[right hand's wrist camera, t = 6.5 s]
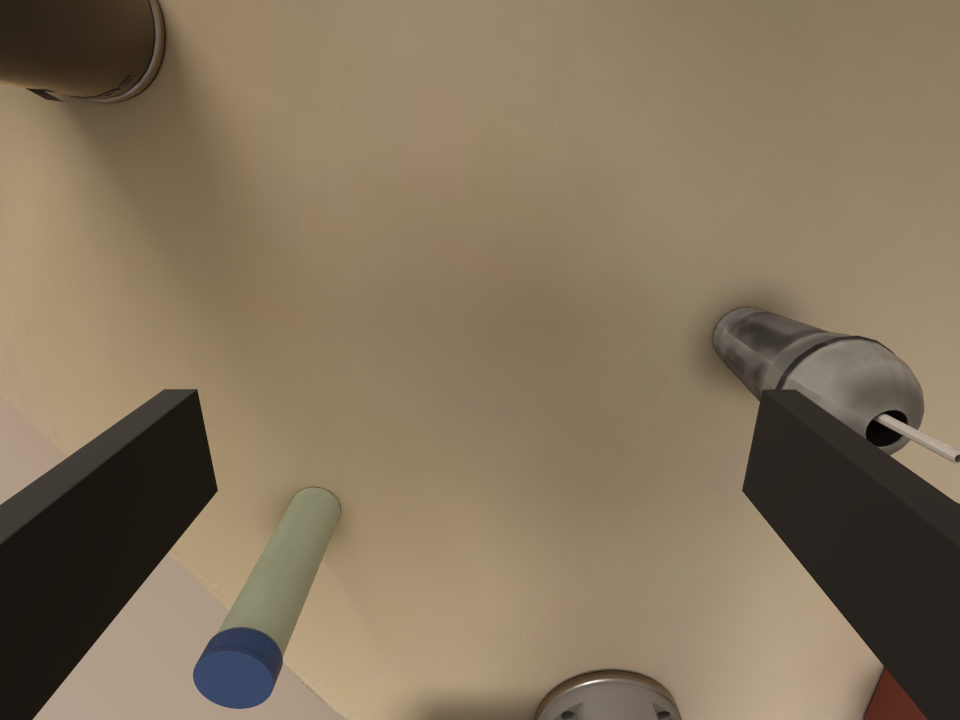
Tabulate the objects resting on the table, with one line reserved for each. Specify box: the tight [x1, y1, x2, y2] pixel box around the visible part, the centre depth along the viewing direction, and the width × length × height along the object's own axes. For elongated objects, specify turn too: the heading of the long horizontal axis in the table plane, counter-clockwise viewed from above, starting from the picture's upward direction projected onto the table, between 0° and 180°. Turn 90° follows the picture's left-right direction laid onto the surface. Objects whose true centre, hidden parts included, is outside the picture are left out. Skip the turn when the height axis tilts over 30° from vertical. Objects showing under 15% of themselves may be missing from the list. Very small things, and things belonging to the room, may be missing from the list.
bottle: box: [217, 487, 341, 658], centre depth 39 cm, size 4×4×16 cm
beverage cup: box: [713, 308, 960, 464], centre depth 31 cm, size 7×7×20 cm
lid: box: [193, 628, 283, 709], centre depth 32 cm, size 5×5×2 cm
